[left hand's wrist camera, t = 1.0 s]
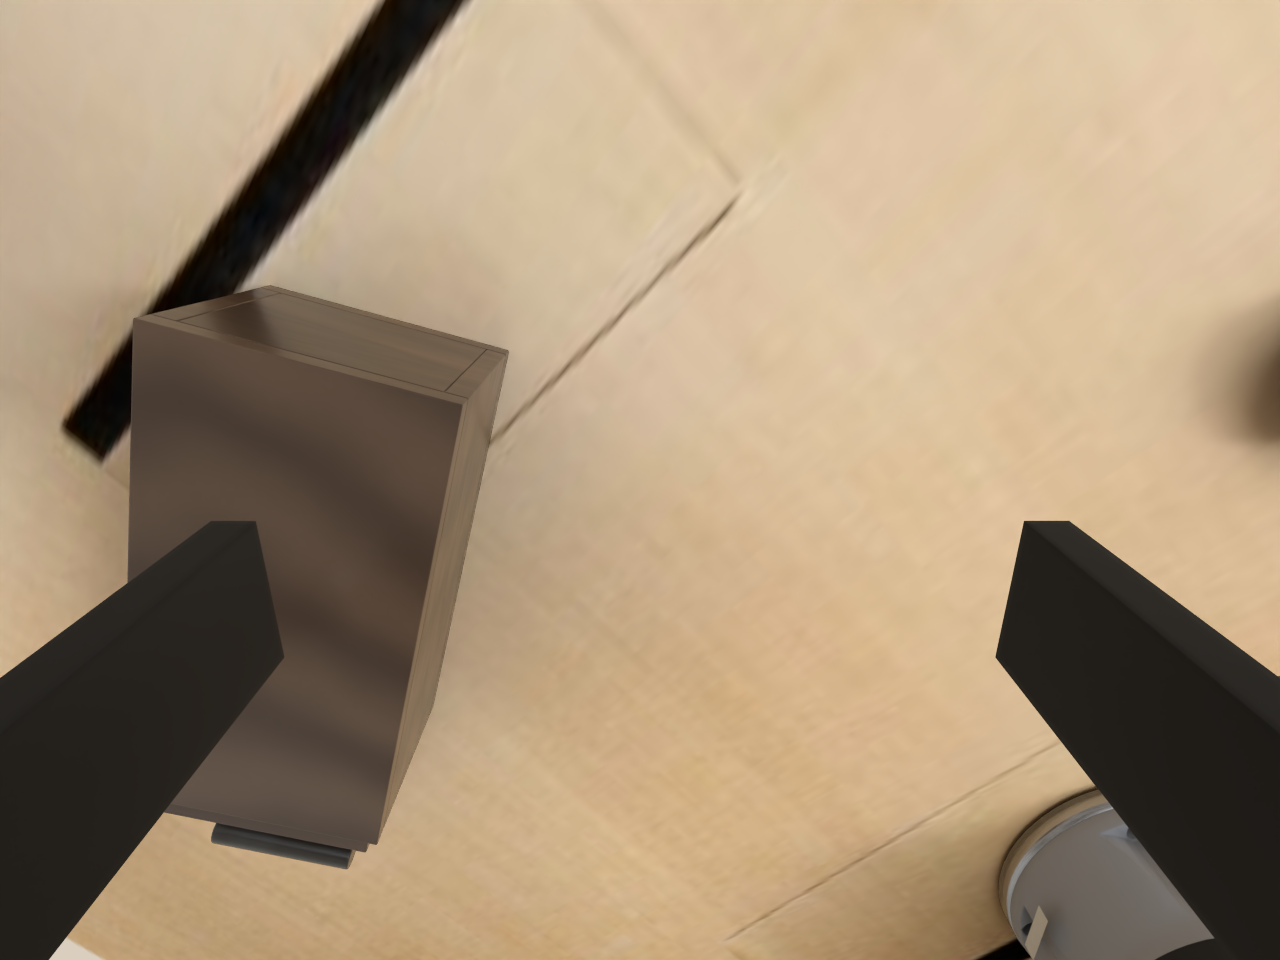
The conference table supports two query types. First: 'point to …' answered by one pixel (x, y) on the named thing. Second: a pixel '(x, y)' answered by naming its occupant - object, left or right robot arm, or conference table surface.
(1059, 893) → the right robot arm
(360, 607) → the cabinet
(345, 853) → the drawer
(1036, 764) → the conference table surface
